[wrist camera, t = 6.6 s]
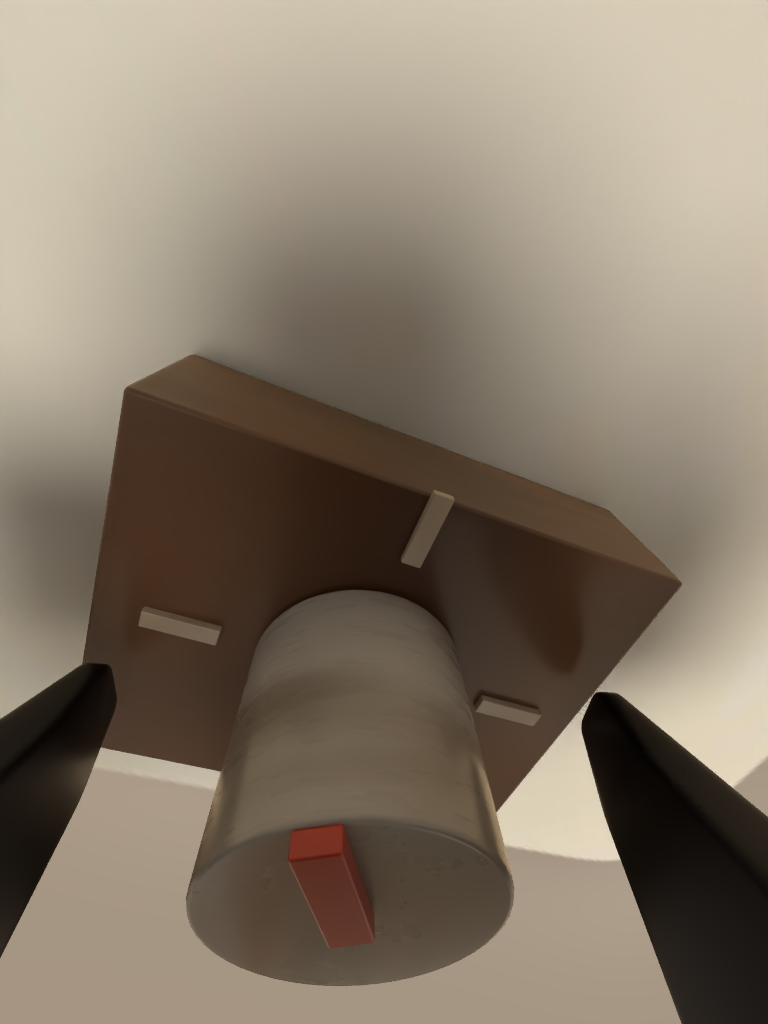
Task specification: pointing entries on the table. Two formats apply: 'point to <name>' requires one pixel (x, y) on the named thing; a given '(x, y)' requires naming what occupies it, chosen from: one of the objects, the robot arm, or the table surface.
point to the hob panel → (342, 564)
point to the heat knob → (351, 804)
